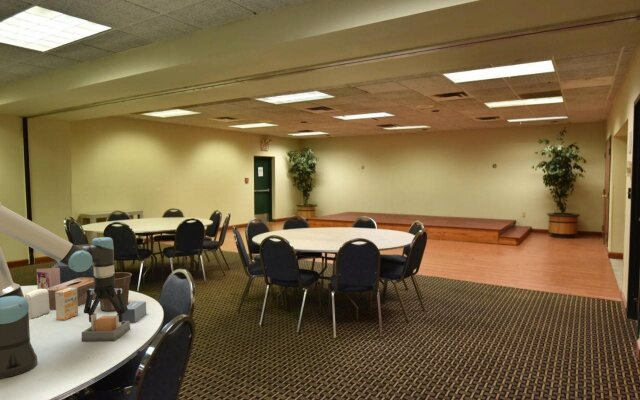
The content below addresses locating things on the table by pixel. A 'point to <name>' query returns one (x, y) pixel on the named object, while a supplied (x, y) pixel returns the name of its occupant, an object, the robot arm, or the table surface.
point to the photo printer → (38, 302)
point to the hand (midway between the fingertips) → (106, 329)
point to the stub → (106, 323)
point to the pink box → (48, 277)
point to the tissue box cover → (78, 283)
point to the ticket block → (135, 311)
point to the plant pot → (120, 282)
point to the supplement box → (66, 303)
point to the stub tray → (105, 333)
